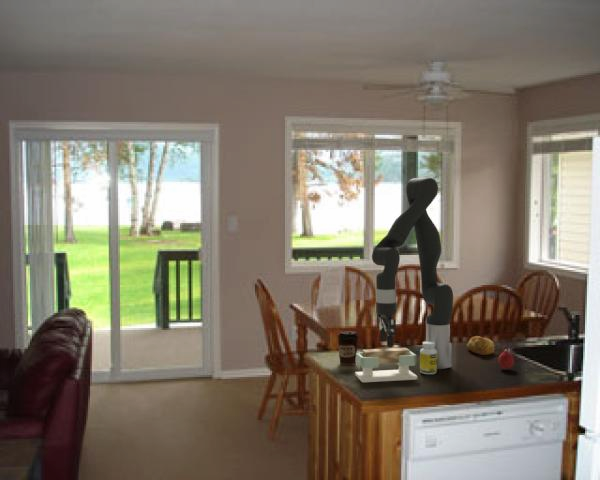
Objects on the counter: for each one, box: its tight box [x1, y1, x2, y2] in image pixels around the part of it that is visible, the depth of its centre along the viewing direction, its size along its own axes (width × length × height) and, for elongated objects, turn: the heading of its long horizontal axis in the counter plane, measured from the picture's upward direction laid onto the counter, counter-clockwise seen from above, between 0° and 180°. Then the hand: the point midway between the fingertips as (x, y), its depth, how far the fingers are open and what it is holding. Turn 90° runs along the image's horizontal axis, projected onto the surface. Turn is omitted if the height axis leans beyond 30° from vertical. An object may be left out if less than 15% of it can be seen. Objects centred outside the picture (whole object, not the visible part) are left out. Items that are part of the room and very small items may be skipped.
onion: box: [497, 349, 515, 371], centre depth 252 cm, size 6×6×8 cm
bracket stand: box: [354, 350, 418, 383], centre depth 242 cm, size 21×10×9 cm, turn 100°
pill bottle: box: [419, 340, 438, 375], centre depth 248 cm, size 6×6×12 cm
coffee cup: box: [337, 330, 359, 366], centre depth 261 cm, size 9×8×13 cm
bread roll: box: [466, 335, 495, 356], centre depth 280 cm, size 13×10×8 cm
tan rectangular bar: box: [362, 347, 411, 365], centre depth 242 cm, size 17×4×4 cm, turn 101°
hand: (386, 343), depth 242 cm, fingers open, 8 cm apart
